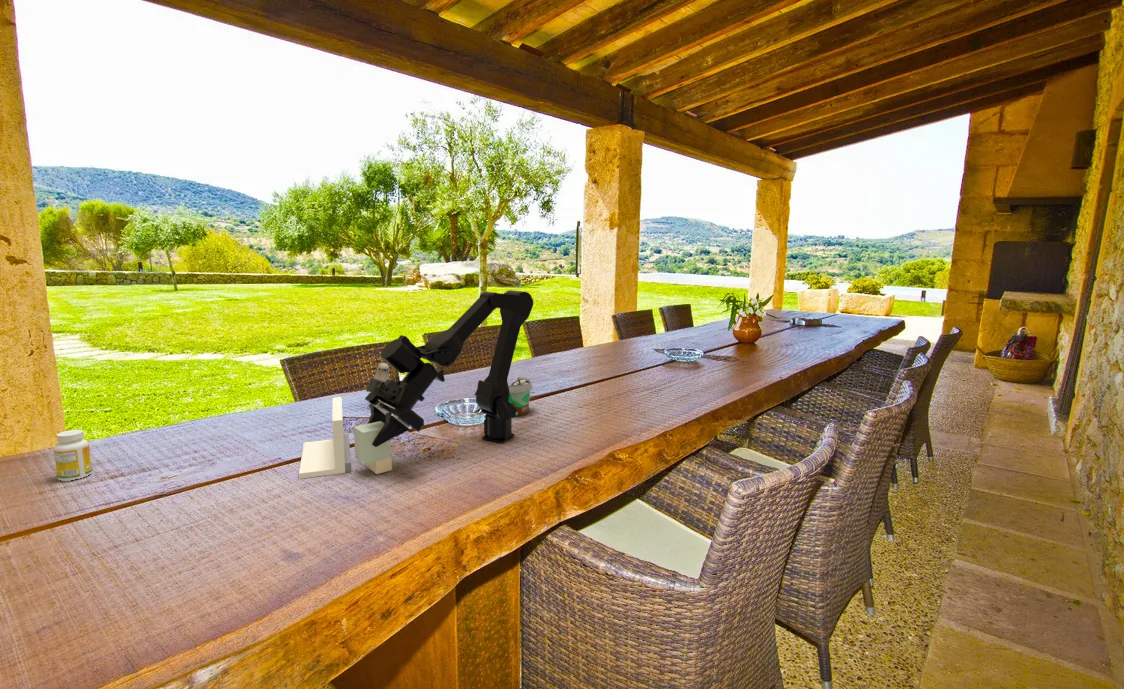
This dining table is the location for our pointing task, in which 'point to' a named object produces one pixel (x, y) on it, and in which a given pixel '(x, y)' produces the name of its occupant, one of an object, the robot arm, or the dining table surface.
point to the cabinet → (372, 448)
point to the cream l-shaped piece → (327, 450)
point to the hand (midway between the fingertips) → (368, 442)
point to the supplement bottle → (72, 456)
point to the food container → (520, 395)
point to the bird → (382, 372)
